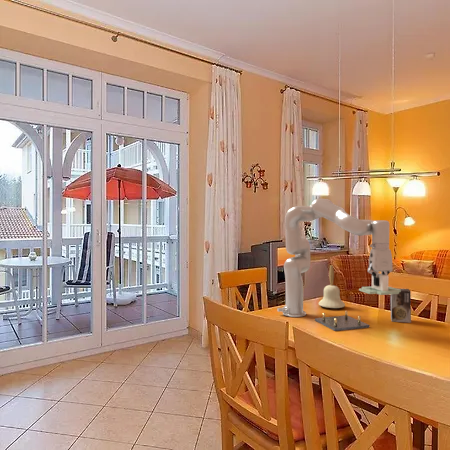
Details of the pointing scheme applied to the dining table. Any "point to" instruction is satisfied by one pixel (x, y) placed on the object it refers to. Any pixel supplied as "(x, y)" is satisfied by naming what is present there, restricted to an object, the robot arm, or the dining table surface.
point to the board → (374, 291)
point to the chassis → (341, 322)
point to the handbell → (331, 294)
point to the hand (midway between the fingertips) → (379, 285)
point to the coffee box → (401, 306)
